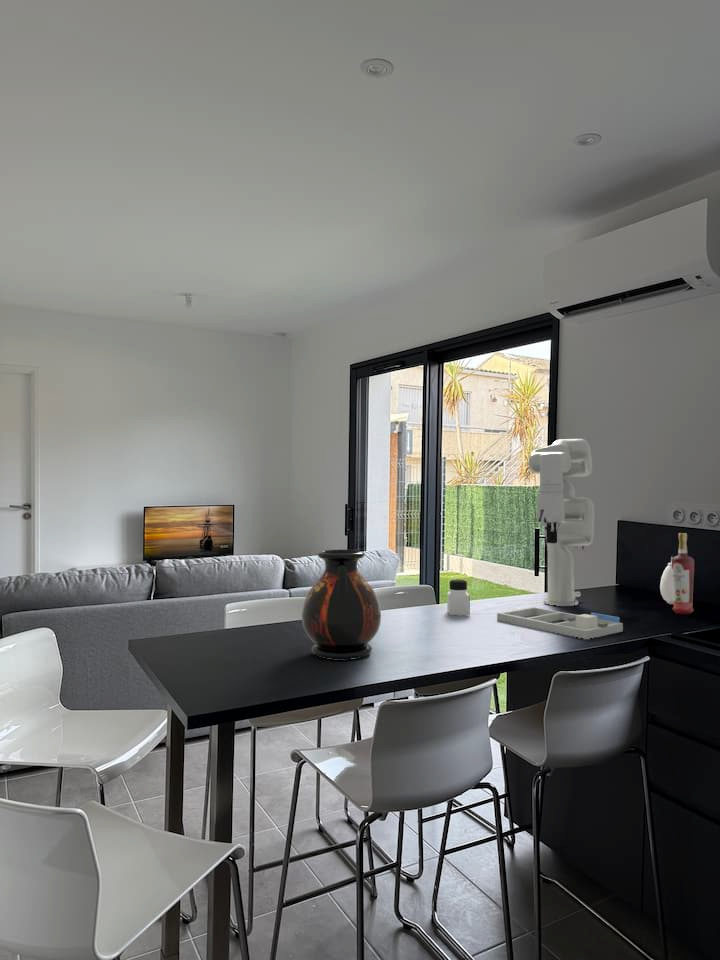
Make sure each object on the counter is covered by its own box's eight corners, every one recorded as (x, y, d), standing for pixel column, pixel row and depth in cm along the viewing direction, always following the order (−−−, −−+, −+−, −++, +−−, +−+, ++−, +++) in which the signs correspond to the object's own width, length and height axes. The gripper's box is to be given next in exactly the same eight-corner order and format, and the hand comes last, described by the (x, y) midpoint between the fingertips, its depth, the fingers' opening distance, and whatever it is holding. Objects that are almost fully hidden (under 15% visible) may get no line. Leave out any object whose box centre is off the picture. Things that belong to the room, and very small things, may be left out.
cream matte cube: (584, 629, 221) (584, 613, 221) (597, 632, 218) (597, 616, 218) (576, 631, 218) (576, 615, 218) (588, 634, 215) (588, 617, 215)
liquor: (698, 613, 245) (698, 533, 245) (687, 616, 241) (686, 534, 241) (679, 610, 251) (678, 532, 251) (667, 612, 247) (667, 533, 247)
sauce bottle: (655, 603, 266) (655, 555, 266) (669, 601, 269) (669, 554, 269) (673, 606, 259) (673, 557, 259) (687, 604, 262) (687, 556, 262)
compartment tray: (534, 613, 247) (534, 602, 247) (623, 630, 219) (623, 618, 219) (497, 620, 235) (497, 608, 235) (586, 639, 207) (586, 626, 207)
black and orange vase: (303, 645, 202) (302, 548, 202) (377, 644, 203) (377, 547, 203) (301, 665, 180) (300, 556, 180) (384, 663, 182) (384, 555, 182)
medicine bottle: (469, 615, 244) (469, 581, 244) (449, 615, 244) (449, 581, 244) (467, 611, 251) (467, 578, 251) (447, 611, 251) (447, 578, 251)
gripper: (555, 487, 247) (556, 539, 248) (528, 489, 238) (529, 544, 238) (573, 488, 241) (574, 541, 242) (546, 490, 232) (547, 546, 232)
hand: (551, 542), depth 240 cm, fingers closed
